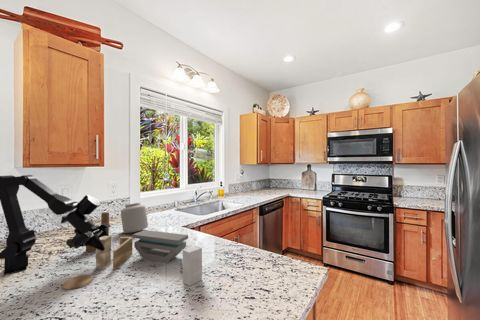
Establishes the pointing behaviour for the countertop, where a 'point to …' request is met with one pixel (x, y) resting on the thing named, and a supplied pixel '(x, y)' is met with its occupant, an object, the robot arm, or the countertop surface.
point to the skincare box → (192, 265)
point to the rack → (122, 252)
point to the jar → (134, 218)
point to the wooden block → (103, 220)
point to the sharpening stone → (159, 245)
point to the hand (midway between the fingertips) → (107, 248)
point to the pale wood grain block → (104, 253)
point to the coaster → (77, 282)
